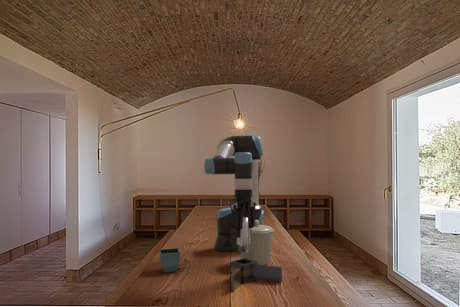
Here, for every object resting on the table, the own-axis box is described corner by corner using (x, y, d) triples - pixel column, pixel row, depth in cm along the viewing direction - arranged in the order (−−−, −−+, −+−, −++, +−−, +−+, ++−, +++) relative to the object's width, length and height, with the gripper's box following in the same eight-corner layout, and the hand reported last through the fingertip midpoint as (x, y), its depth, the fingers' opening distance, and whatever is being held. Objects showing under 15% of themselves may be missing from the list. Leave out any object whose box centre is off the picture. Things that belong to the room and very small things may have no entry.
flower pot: (160, 274, 153) (160, 253, 153) (159, 268, 161) (159, 249, 161) (180, 272, 155) (180, 252, 155) (178, 267, 163) (178, 248, 164)
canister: (277, 260, 175) (276, 217, 176) (271, 270, 158) (271, 223, 159) (242, 257, 180) (242, 216, 181) (233, 267, 163) (232, 222, 163)
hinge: (251, 272, 155) (251, 256, 155) (283, 281, 142) (282, 264, 142) (212, 283, 140) (212, 266, 140) (243, 295, 127) (243, 276, 127)
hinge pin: (243, 249, 150) (243, 216, 150) (250, 251, 147) (250, 217, 147) (237, 251, 147) (236, 217, 148) (243, 252, 144) (243, 218, 145)
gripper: (250, 187, 156) (251, 239, 155) (222, 189, 145) (222, 245, 144) (263, 188, 151) (263, 242, 150) (234, 189, 139) (235, 248, 139)
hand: (243, 244), depth 147 cm, fingers closed on hinge pin, 4 cm apart
